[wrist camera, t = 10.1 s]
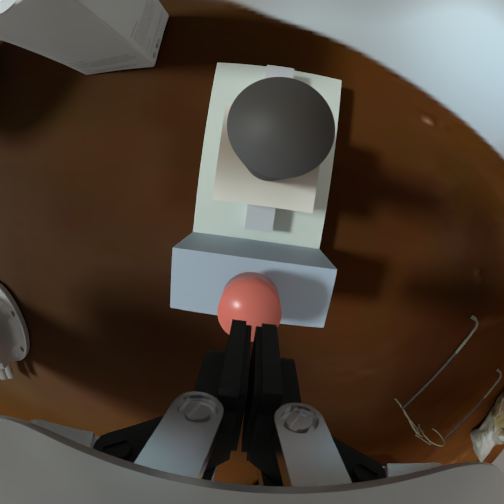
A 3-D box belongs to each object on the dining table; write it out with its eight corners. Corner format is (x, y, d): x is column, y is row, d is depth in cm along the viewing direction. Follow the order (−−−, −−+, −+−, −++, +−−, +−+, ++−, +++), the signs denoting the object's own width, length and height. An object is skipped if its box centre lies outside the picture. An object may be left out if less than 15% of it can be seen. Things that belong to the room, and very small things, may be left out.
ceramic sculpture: (473, 470, 23) (531, 398, 20) (452, 441, 31) (503, 374, 29) (495, 464, 23) (544, 401, 21) (476, 440, 32) (520, 380, 29)
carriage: (301, 207, 21) (367, 246, 8) (222, 196, 21) (162, 218, 8) (312, 130, 20) (387, 60, 6) (232, 118, 20) (193, 29, 6)
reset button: (274, 326, 16) (275, 344, 14) (219, 319, 16) (214, 337, 14) (283, 275, 15) (286, 289, 14) (225, 268, 15) (220, 280, 14)
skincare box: (171, 16, 19) (105, -87, 3) (155, 72, 20) (54, -18, 5) (99, 27, 18) (11, -39, 3) (82, 79, 20) (-30, 33, 5)
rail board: (307, 289, 24) (323, 327, 18) (193, 273, 24) (170, 307, 18) (337, 85, 20) (363, 54, 13) (219, 69, 20) (205, 30, 13)
